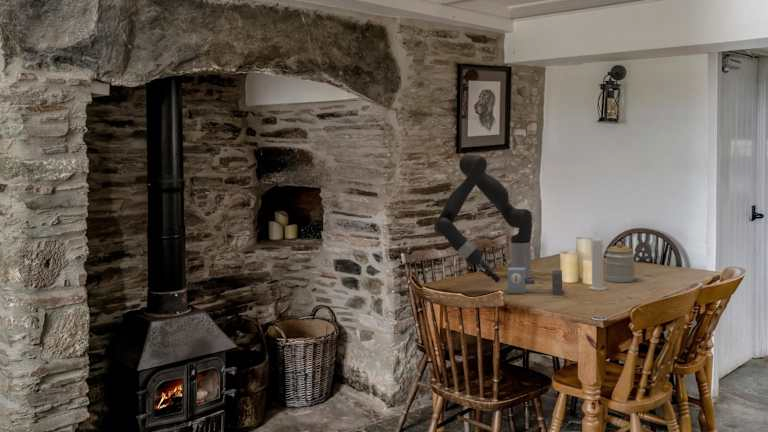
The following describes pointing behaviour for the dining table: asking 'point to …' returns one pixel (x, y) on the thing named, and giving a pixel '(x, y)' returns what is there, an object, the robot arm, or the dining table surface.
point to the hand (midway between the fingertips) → (498, 281)
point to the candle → (597, 264)
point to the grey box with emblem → (517, 280)
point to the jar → (620, 264)
